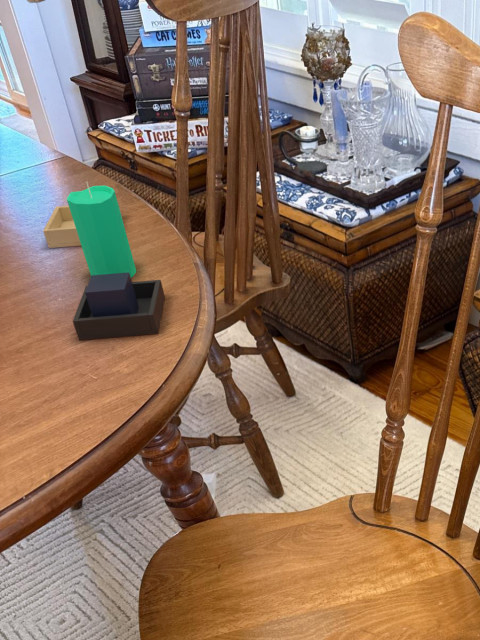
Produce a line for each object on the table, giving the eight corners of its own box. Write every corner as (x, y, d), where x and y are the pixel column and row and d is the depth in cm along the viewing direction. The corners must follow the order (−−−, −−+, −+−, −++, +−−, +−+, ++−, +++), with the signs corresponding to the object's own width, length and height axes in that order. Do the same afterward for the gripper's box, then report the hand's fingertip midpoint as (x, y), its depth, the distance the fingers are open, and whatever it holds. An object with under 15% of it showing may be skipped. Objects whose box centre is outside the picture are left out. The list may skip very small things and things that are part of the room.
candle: (138, 262, 107) (113, 171, 99) (135, 281, 103) (109, 187, 95) (93, 266, 107) (65, 175, 98) (88, 286, 102) (58, 192, 94)
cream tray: (48, 248, 112) (42, 230, 110) (61, 223, 118) (55, 206, 117) (114, 243, 112) (109, 225, 111) (122, 218, 119) (118, 201, 117)
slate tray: (79, 340, 92) (72, 321, 90) (91, 304, 99) (85, 285, 97) (158, 333, 93) (152, 314, 91) (165, 298, 99) (160, 279, 98)
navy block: (96, 327, 93) (84, 292, 90) (102, 309, 96) (91, 275, 93) (134, 324, 94) (124, 289, 90) (138, 306, 97) (129, 272, 94)
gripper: (-4, -166, 82) (42, -8, 92) (-148, -154, 68) (-76, 30, 78) (48, -168, 81) (89, -8, 91) (-88, -157, 67) (-22, 31, 76)
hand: (12, 10), depth 84 cm, fingers open, 8 cm apart
